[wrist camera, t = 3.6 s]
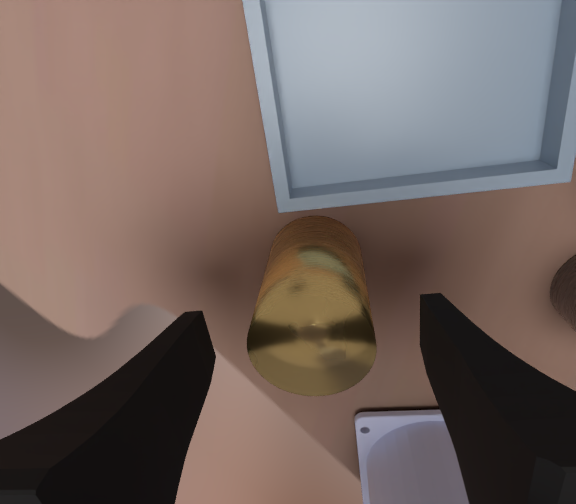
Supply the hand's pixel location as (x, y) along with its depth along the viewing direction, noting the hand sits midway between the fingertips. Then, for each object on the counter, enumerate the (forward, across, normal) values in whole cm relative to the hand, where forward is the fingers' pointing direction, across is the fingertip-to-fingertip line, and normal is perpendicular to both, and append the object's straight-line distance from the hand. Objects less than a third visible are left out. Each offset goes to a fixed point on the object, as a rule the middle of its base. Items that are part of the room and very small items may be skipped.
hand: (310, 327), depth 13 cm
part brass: (+5, 0, 0) cm, 5 cm away
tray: (+5, -4, -8) cm, 10 cm away
